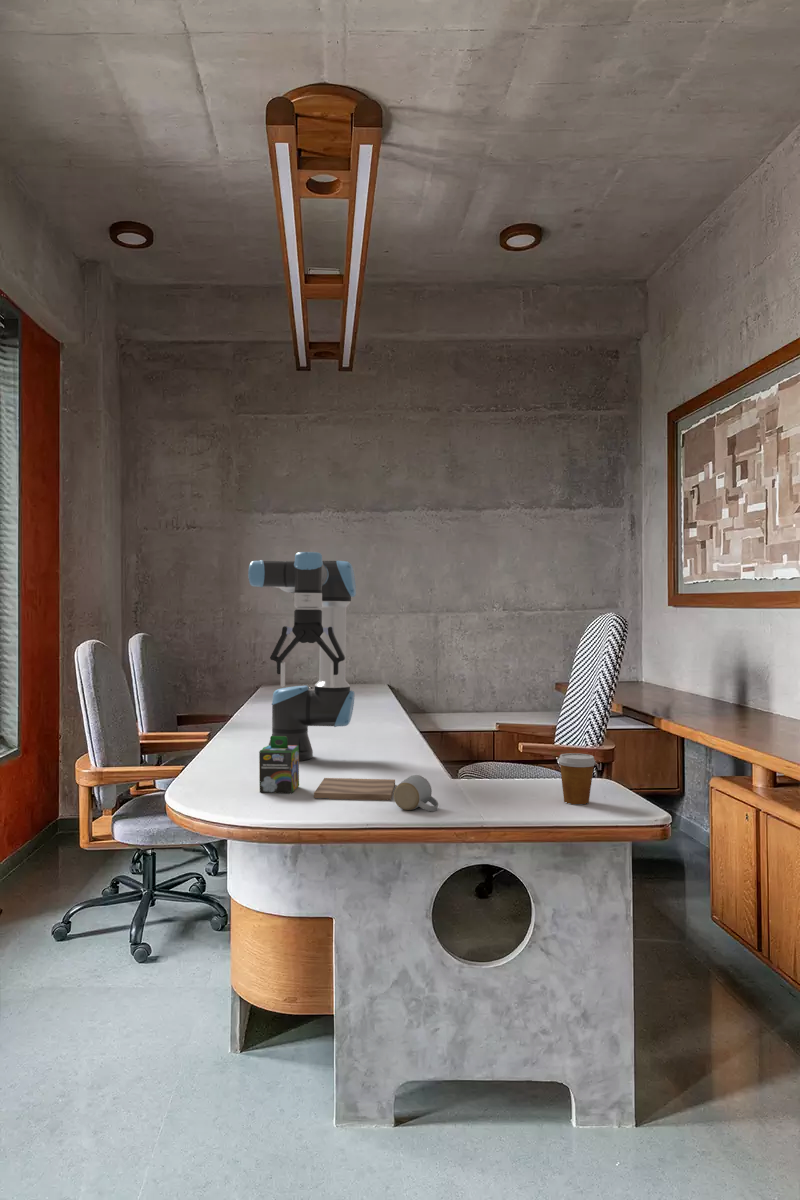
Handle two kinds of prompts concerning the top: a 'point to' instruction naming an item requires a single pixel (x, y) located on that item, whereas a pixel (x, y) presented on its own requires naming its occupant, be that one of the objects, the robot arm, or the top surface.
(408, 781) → the ceramic mug
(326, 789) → the walnut board
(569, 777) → the disposable coffee cup
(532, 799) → the top surface
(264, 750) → the chalk box
